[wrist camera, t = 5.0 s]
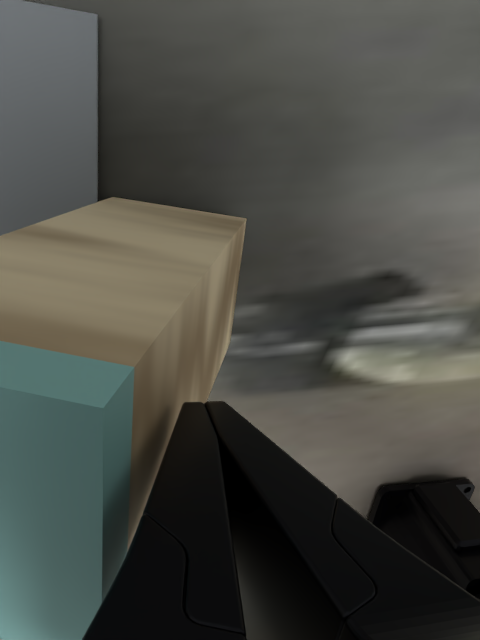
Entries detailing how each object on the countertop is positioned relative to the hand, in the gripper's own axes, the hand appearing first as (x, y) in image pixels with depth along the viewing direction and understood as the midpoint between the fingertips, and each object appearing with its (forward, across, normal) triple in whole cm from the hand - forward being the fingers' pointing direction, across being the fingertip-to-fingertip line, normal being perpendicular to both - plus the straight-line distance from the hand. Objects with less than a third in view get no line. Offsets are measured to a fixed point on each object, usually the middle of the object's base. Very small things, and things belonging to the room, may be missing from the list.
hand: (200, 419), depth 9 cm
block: (+9, 0, 0) cm, 9 cm away
